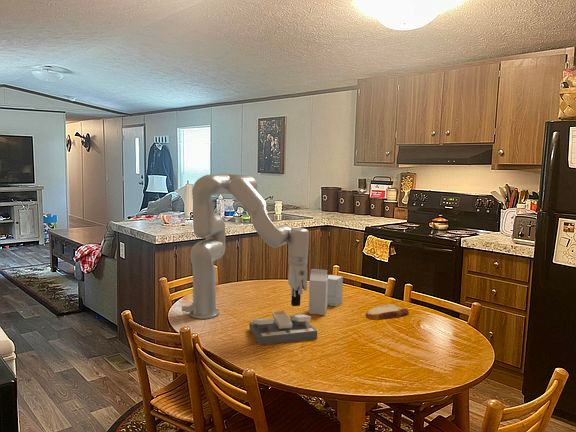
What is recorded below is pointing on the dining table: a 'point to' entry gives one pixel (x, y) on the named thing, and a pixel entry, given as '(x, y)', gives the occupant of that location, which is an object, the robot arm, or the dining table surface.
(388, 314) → the slice of bread
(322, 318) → the dining table surface
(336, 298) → the supplement box
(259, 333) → the switch unit
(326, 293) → the milk carton
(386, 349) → the dining table surface
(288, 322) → the switch middle
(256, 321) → the switch left
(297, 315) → the switch right
